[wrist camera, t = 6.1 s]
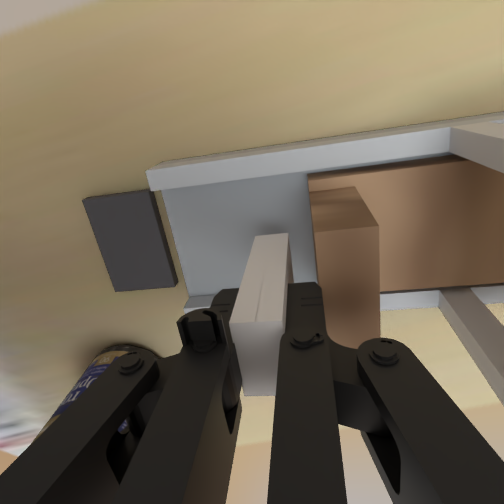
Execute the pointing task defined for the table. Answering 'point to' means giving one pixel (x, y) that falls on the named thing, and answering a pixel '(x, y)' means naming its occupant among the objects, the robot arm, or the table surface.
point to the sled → (402, 235)
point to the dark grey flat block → (131, 240)
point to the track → (299, 216)
